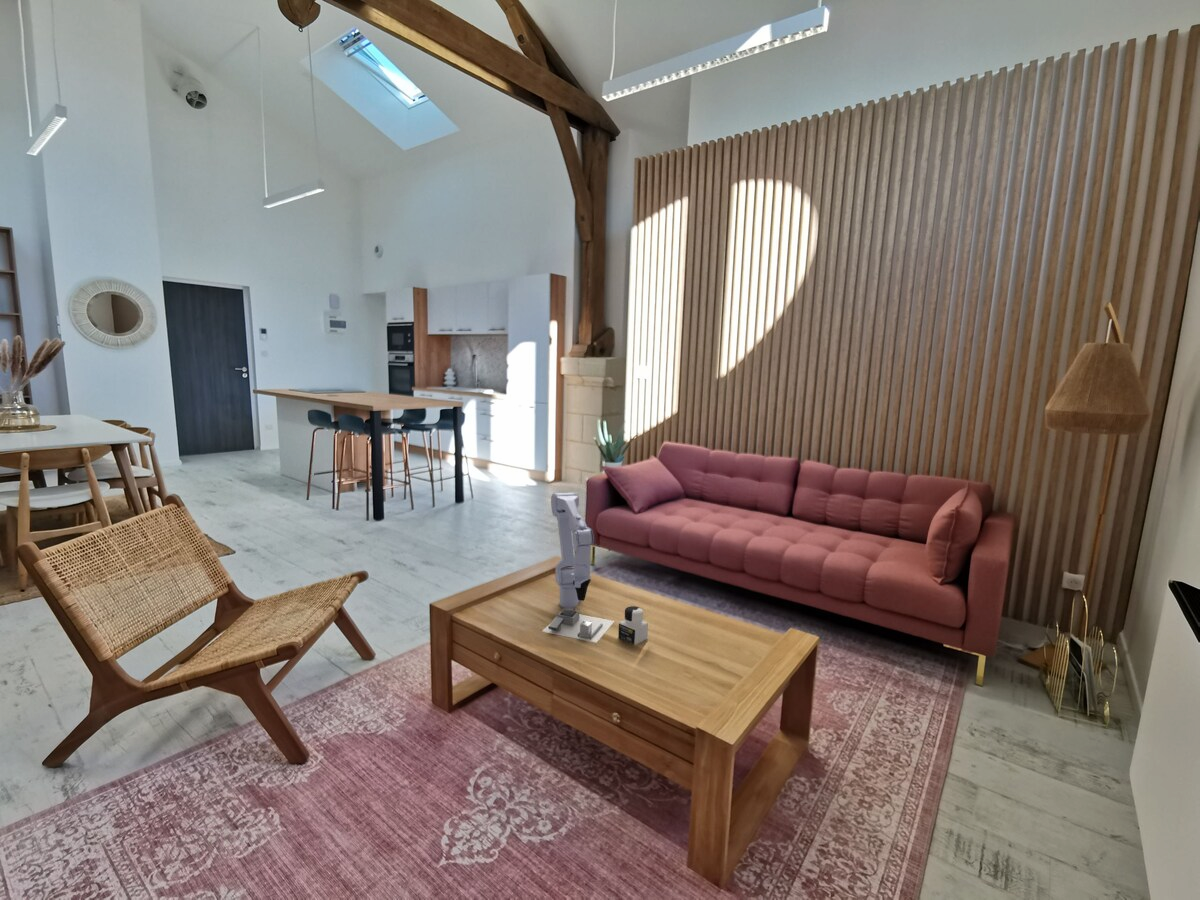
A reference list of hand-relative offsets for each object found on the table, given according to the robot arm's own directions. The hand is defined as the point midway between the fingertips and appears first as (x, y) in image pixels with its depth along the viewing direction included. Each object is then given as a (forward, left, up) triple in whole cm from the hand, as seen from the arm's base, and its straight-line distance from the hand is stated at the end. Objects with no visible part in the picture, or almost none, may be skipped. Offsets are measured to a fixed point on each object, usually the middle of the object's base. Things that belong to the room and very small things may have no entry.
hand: (581, 599), depth 208 cm
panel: (+4, +1, -9) cm, 10 cm away
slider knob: (+10, +6, -8) cm, 14 cm away
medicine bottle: (+5, +21, -10) cm, 24 cm away
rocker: (+10, -5, -6) cm, 12 cm away
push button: (+2, -4, -8) cm, 9 cm away
